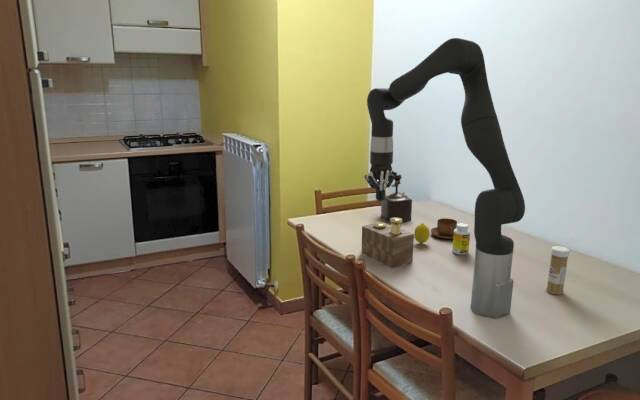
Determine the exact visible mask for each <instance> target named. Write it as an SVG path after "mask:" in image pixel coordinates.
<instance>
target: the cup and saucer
mask: <svg viewBox="0 0 640 400" xmlns="http://www.w3.org/2000/svg"><path fill="white" fill-rule="evenodd" d="M457 224H458V221H457V220H456V219H452V218H445V217H444V218H443V217H442V218H439V219H437V224H436V225H437V227H433V228H431V229H430V234H432V235H433V236H435V237H437V238H440V239H444V240H445V239H446V240H453V235H454V230H455V229H456V227H457Z"/></svg>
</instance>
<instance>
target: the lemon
mask: <svg viewBox="0 0 640 400" xmlns="http://www.w3.org/2000/svg"><path fill="white" fill-rule="evenodd" d="M413 234H414V240H415V241H416V242H418V243H419V244H420V245H423V244H424V243H426V242H427V241H428V240H429V238H430V235H431V231H430V229H429V227H428V226H427V225H426V224H425V223H421V224H418V225H416V227H415V229H414V231H413Z"/></svg>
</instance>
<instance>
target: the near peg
mask: <svg viewBox="0 0 640 400" xmlns="http://www.w3.org/2000/svg"><path fill="white" fill-rule="evenodd" d="M389 223H391V224H390V225H391V234H393V235H399V234H400V229H401V223H403V222H402V219H401V218H390V222H389Z"/></svg>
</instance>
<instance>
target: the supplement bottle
mask: <svg viewBox="0 0 640 400" xmlns="http://www.w3.org/2000/svg"><path fill="white" fill-rule="evenodd" d="M470 241H471V231H470V230H469V224H467V223H465V222H464V223H461V222H460V223H457V227H456V229H455V230H454V235H453V239H452V252H453V254H456V255H461V256H462V255H463V256H464V255H468V254H469V250H470Z"/></svg>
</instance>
